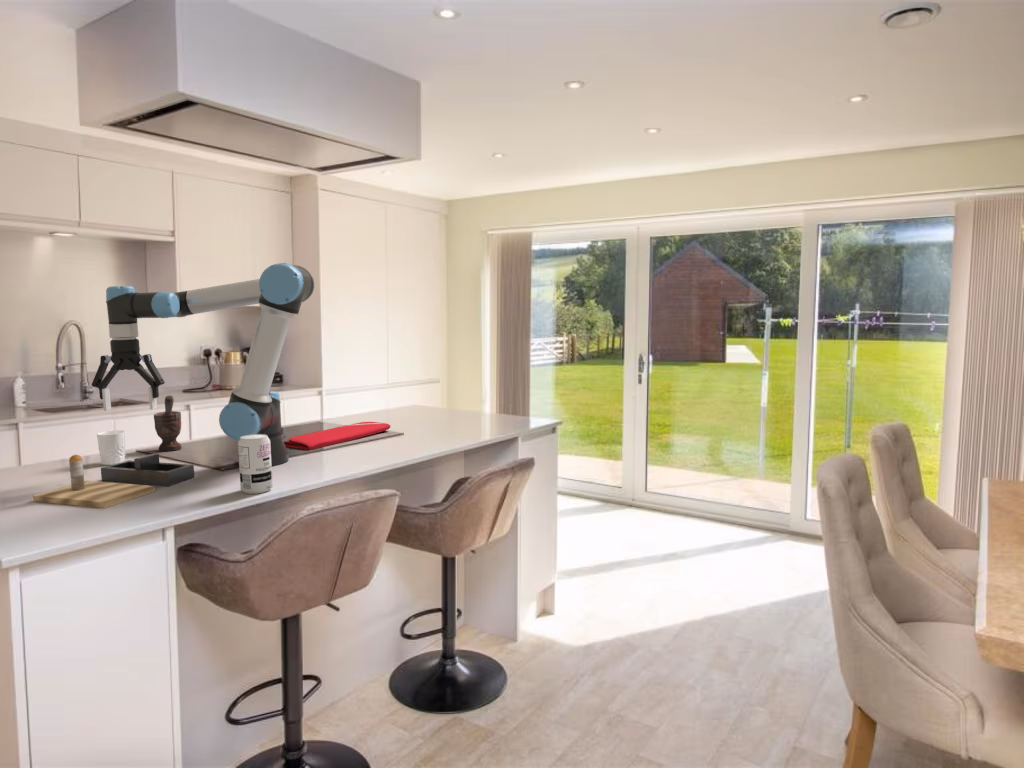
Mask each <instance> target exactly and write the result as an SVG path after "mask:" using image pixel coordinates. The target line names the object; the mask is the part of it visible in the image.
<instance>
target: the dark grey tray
mask: <svg viewBox="0 0 1024 768" xmlns="http://www.w3.org/2000/svg"><path fill="white" fill-rule="evenodd" d="M100 477H101V482H110V483H123V484H135V485H147V486H154V487H155V486H156V487H172V486H175V485H177V484H181V483H184V482H188V481H190V480H194V479H195V478H196V477H195V465H194V464H187V463H172V462H160V454H159V453H151V454H147V455H143V456H142V455H141V456H139V457H136V458H134V459H133V460H125V461H124V462H121V463H117V464H113V465H105V466H103V467H100Z"/></svg>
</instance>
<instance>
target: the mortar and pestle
mask: <svg viewBox="0 0 1024 768" xmlns="http://www.w3.org/2000/svg"><path fill="white" fill-rule="evenodd" d="M174 401H175V399H174V396H172V395H170V394H169V395H166V396H165V398H164V409H165V410H164V411H160V412H156V413H154V414H153V420H154V429H155V432H156V435H157V436H158V437H159V438H160V439H161V441H162V442H161V443H160V444H159V446H158V451H160V452H173V450H174V451H179V450H180V449H182V444H181V443H180V442H178V441H177V438H178V436H179V435H180V434H181V430H182V412H181V411H177V410H173V406H174Z"/></svg>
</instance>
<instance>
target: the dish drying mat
mask: <svg viewBox="0 0 1024 768" xmlns="http://www.w3.org/2000/svg"><path fill="white" fill-rule="evenodd" d="M390 428H391V425H390V424H389V423H387V422H386V423H385V422H377V421H361V422H356V423H351V424H348V425H342V426H337V427H333V428H329V429H323V430H318V431H314V432H310V433H309V432H308V433H304V434H301V435H295V436H292V437H290V438H289V439H288V440H283V441H284V444H285V447H286V448H292V449H293V448H294V449H299V450H304V451H310V450H311V451H312V450H315V449H320V448H324V447H328V446H333V445H337V444H340V443H341V444H342V443H344V442H349V441H353V440H357V439H360V438H363V437H367V436H372V435H375V434H379V433H382V432H386V431H387V430H389V429H390Z"/></svg>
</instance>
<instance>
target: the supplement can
mask: <svg viewBox="0 0 1024 768" xmlns="http://www.w3.org/2000/svg"><path fill="white" fill-rule="evenodd" d="M237 448H238V449H237V451H238V466H239V467H238V468H239V482H240V483H239V484H240V490H241V492H243V493H244V494H246V495H247V494H249V495H255V494H256V495H257V494H262V493H266V492H267V493H268V491H271V489H272V488H273V486H274V485H273V468H272V466H273V465H272V464H271V446H270V440H269V438H268V436H267V435H265V434H252V435H245V436H242V437H240V440H238V442H237Z"/></svg>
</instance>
